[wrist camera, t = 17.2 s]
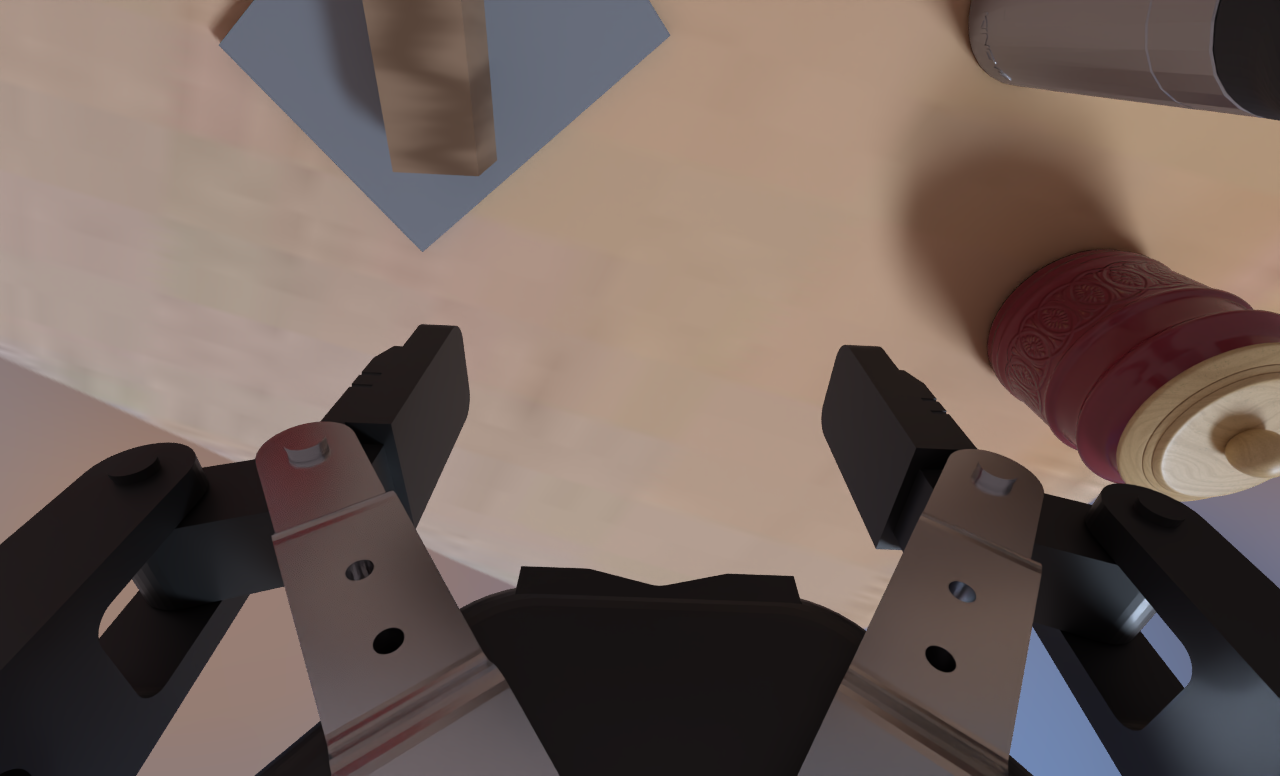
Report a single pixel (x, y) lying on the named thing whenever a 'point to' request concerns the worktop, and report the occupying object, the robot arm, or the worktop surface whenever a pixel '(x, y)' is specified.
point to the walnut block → (433, 84)
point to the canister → (1145, 373)
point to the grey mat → (519, 72)
